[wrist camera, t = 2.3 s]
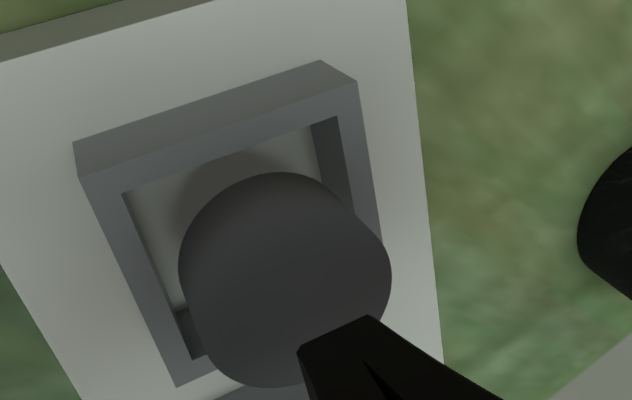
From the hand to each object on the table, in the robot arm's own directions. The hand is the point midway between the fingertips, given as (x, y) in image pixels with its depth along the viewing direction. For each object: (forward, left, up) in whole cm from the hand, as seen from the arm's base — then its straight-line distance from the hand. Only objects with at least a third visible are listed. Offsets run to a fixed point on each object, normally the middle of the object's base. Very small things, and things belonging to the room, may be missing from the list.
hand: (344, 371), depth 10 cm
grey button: (0, 0, -4) cm, 4 cm away
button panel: (0, -4, -9) cm, 10 cm away
